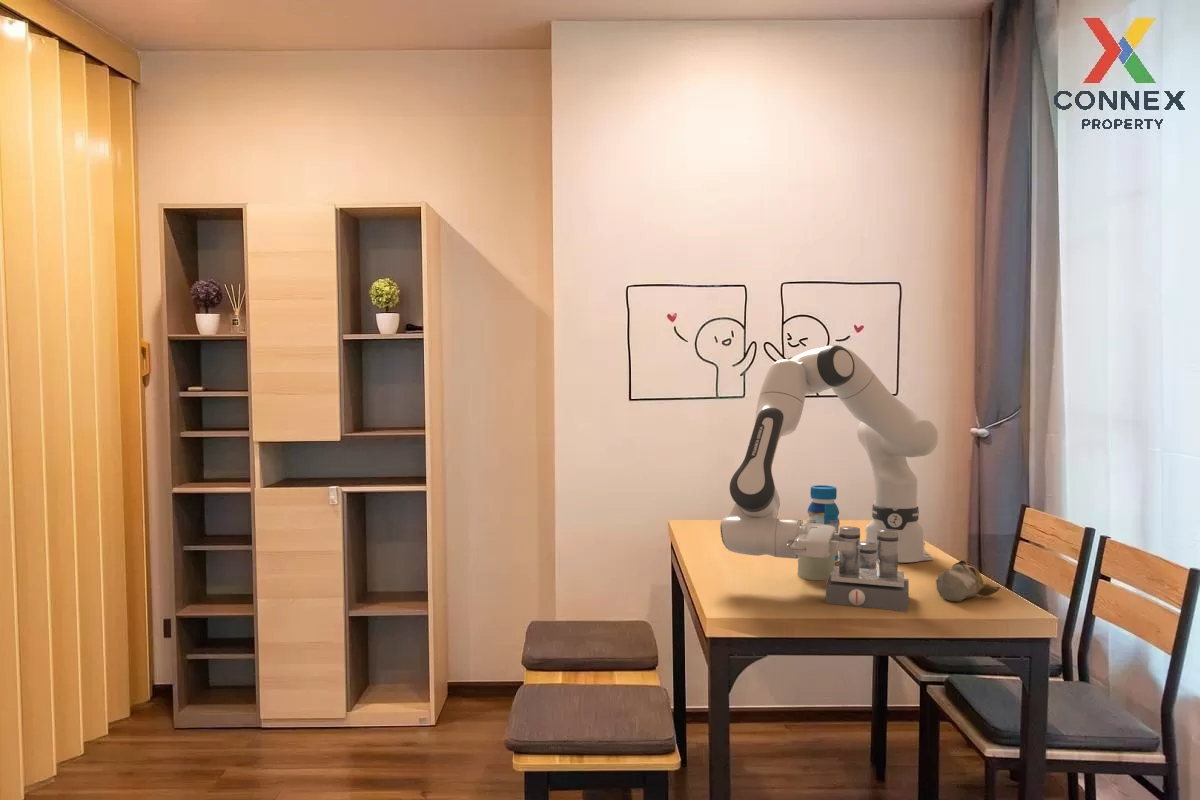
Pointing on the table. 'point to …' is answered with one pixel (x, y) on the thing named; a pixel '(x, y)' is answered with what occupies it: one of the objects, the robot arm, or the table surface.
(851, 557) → the cylinder
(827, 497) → the beverage bottle
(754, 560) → the table surface
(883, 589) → the scale body
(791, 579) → the table surface
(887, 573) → the cylinder
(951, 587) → the ceramic sculpture
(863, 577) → the scale pan
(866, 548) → the cylinder
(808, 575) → the can
